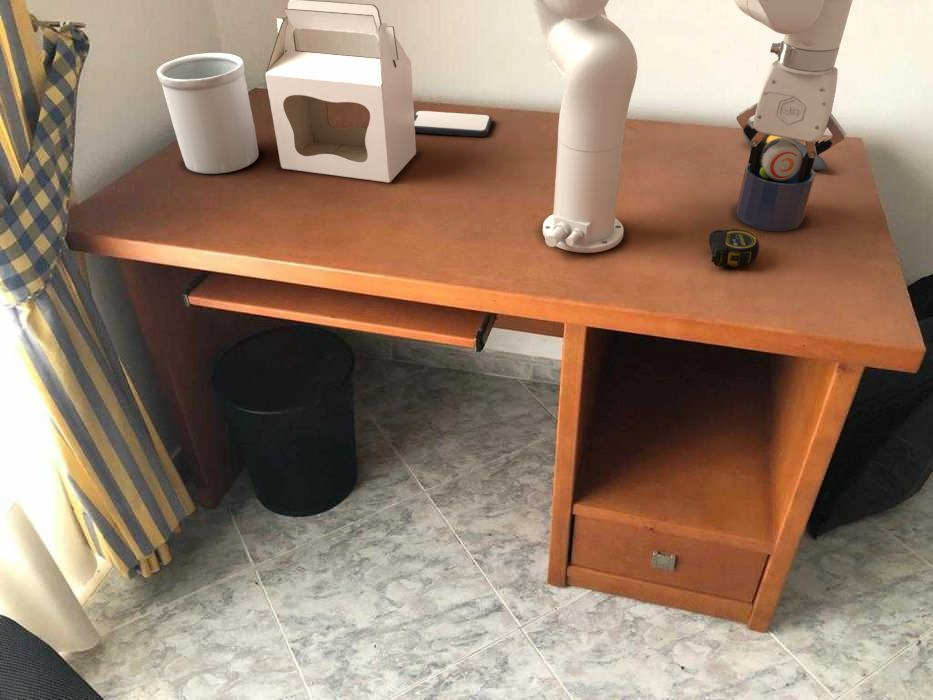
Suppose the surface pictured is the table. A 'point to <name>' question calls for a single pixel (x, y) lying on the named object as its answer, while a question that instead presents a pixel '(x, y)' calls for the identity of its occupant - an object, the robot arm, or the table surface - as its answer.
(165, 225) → the table surface
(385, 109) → the gable box
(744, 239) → the tape measure
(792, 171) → the roller toy
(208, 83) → the utensil holder
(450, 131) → the phone case
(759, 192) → the cup
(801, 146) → the paintbrush
